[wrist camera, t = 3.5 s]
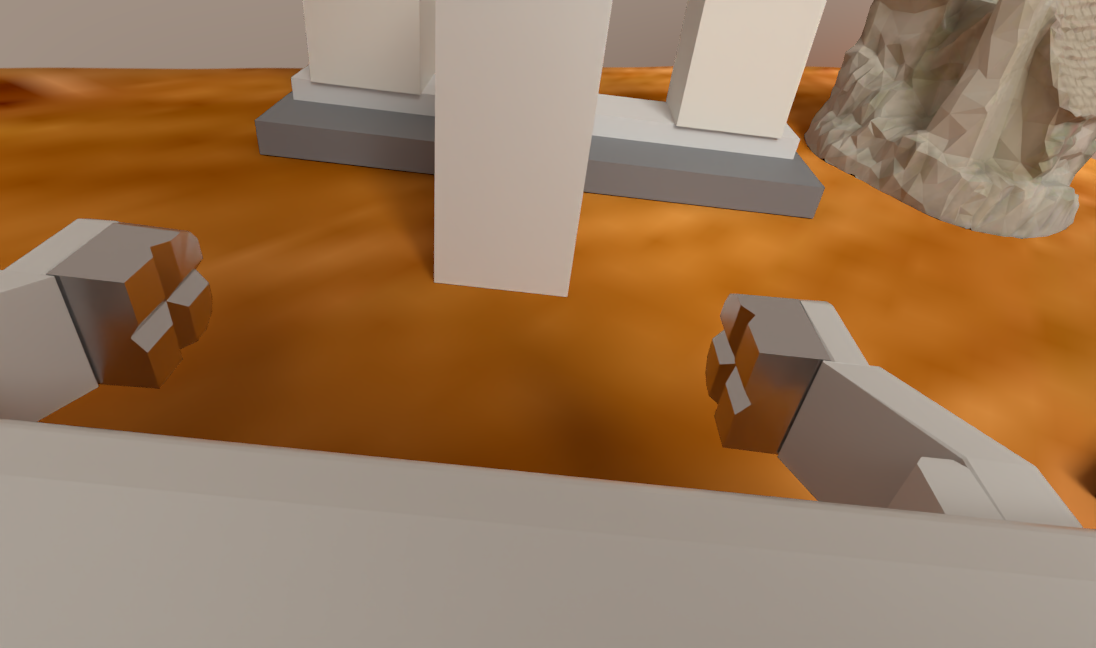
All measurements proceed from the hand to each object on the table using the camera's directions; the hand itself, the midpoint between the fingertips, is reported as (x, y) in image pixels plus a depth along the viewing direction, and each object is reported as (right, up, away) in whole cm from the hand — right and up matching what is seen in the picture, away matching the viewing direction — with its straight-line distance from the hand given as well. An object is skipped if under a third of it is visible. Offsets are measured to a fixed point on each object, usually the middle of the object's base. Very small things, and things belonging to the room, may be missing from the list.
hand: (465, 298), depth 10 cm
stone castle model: (+25, +8, +27) cm, 38 cm away
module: (0, +2, +14) cm, 14 cm away
